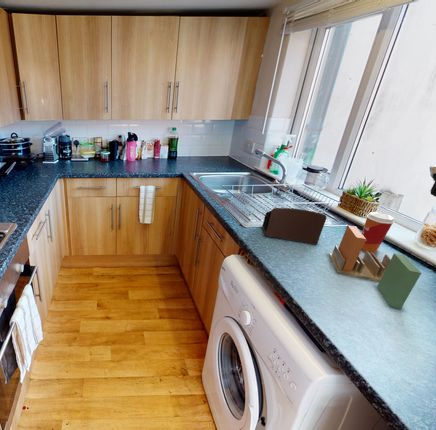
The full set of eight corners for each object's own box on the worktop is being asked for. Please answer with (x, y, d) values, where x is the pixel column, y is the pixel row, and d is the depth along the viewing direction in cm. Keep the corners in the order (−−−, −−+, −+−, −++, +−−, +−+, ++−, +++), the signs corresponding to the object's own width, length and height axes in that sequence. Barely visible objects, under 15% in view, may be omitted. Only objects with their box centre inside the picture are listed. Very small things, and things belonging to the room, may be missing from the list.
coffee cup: (356, 242, 121) (370, 209, 114) (381, 250, 115) (398, 216, 109) (351, 248, 116) (365, 214, 109) (376, 257, 110) (393, 222, 104)
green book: (386, 288, 93) (404, 255, 87) (400, 309, 84) (421, 273, 79) (376, 286, 94) (393, 253, 88) (389, 306, 85) (409, 270, 80)
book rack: (381, 265, 105) (387, 253, 103) (397, 285, 94) (404, 273, 92) (328, 254, 111) (333, 243, 109) (337, 273, 100) (342, 261, 98)
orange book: (343, 257, 108) (356, 226, 102) (351, 271, 99) (366, 239, 94) (335, 255, 109) (347, 225, 103) (342, 269, 100) (356, 237, 95)
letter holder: (317, 244, 118) (328, 213, 112) (264, 236, 123) (272, 206, 117) (310, 234, 126) (321, 204, 120) (261, 226, 132) (269, 198, 126)
